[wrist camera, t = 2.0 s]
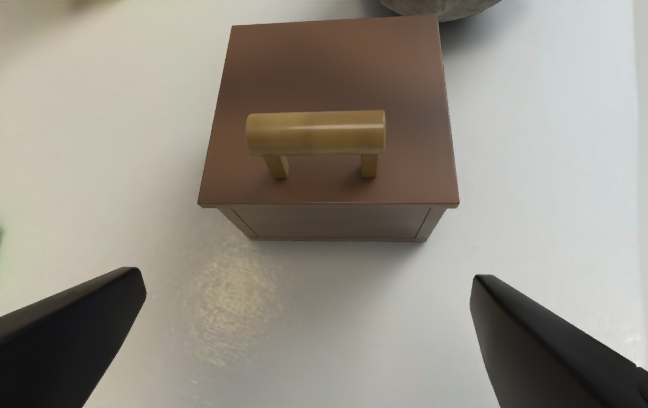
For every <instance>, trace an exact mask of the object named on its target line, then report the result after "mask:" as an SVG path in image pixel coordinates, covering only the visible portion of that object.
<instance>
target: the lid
mask: <svg viewBox="0 0 648 408" xmlns="http://www.w3.org/2000/svg"><path fill="white" fill-rule="evenodd" d="M197 203H198V205H199V206H201V207H202V208H457V207H458V205H459V203H460V202H459V193H458V185H457V176H456V168H455V159H454V151H453V143H452V134H451V126H450V117H449V109H448V101H447V92H446V84H445V75H444V67H443V59H442V50H441V42H440V33H439V25H438V17H437V14H428V15H410V16H393V17H376V18H358V19H341V20H324V21H306V22H289V23H272V24H254V25H237V26H232V28H231V34H230V39H229V44H228V49H227V54H226V59H225V64H224V69H223V74H222V79H221V85H220V90H219V95H218V100H217V105H216V110H215V115H214V120H213V125H212V130H211V136H210V141H209V146H208V151H207V156H206V161H205V166H204V171H203V176H202V182H201V187H200V192H199V197H198V202H197Z"/></svg>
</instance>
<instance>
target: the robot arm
mask: <svg viewBox="0 0 648 408" xmlns="http://www.w3.org/2000/svg"><path fill="white" fill-rule="evenodd" d="M146 295H147V292H146V288H145V285H144V281H143V278H142V274H141V271H140V270H139V269H138V268H137V267H121V268H118V269H116V270H114V271H111V272H109V273H106V274H104V275H101V276H99V277H96V278H94V279H92V280H89V281H87V282H84V283H82V284H79V285H77V286H75V287H72V288H70V289H67V290H65V291H62V292H60V293H57V294H55V295H53V296H50V297H48V298H45V299H43V300H40V301H38V302H36V303H33V304H31V305H28V306H26V307H23V308H21V309H18V310H16V311H14V312H11V313H9V314H6V315H4V316H1V317H0V408H82V407H83V406H84V404H85V403H86V401H87V400H88V398H89V396H90V395H91V393H92V392H93V390H94V389H95V387H96V386H97V384H98V382H99V381H100V379H101V378H102V376H103V375H104V373H105V372H106V370H107V369H108V367H109V365H110V364H111V362H112V361H113V359H114V358H115V356H116V354H117V353H118V351H119V349H120V348H121V346H122V344H123V342H124V340H125V338H126V337H127V335H128V333H129V331H130V329H131V327H132V325H133V323H134V321H135V319H136V317H137V315H138V313H139V312H140V310H141V308H142V306H143V304H144V302H145V300H146ZM470 311H471V315H472V319H473V322H474V326H475V330H476V334H477V338H478V342H479V346H480V349H481V353H482V357H483V361H484V364H485V368H486V370H487V373H488V376H489V379H490V381H491V384H492V386H493V389H494V392H495V394H496V397H497V399H498V402H499V405H500V407H501V408H648V371H646V370H644V369H643V368H641V367H636V364H635V363H633V362H631V361H630V360H628V359H627V358H625V357H623V356H622V355H620V354H619V353H617V352H615V351H614V350H612V349H611V348H609V347H607V346H606V345H604V344H602V343H601V342H599V341H598V340H596V339H594V338H593V337H591V336H590V335H588V334H586V333H585V332H583V331H582V330H580V329H578V328H577V327H575V326H574V325H572V324H570V323H569V322H567V321H566V320H564V319H562V318H561V317H559V316H558V315H556V314H554V313H553V312H551V311H550V310H548V309H546V308H545V307H543V306H542V305H540V304H538V303H537V302H535V301H534V300H532V299H530V298H529V297H527V296H526V295H524V294H522V293H521V292H519V291H518V290H516V289H514V288H513V287H511V286H510V285H508V284H506V283H505V282H503V281H502V280H500V279H498V278H497V277H495V276H493V275H475V277H474V279H473V284H472V290H471V297H470Z"/></svg>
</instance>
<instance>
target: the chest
mask: <svg viewBox="0 0 648 408" xmlns="http://www.w3.org/2000/svg"><path fill="white" fill-rule="evenodd" d="M217 209H219V210H220V211H221V212H222V213H223V214H224V215H225V216H226V217H227V218H228V219H229V220H230V221H231V222H232V223H233V224H234V225H235V226H236V227H237V228H239V229H240V230H241V231H242V232H243V233H244V234H245V235H246V236H247V237H248V238H249V239H250V240H293V241H378V242H426V241H427V239H428V237H429V236H430V234H431V233H432V231H433V229H434V228H435V226H436V225H437V223H438V222H439V220H440V218H441V217H442V215H443V214H444V212H445V211H446V209H447V208H217Z"/></svg>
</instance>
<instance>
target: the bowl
mask: <svg viewBox="0 0 648 408" xmlns="http://www.w3.org/2000/svg"><path fill="white" fill-rule="evenodd" d="M378 1H379V2H380V3H382V4H383V5H384V6H386V7H387V8H389V9H391V10H393V11H395V12H397V13H398V14H400V15H402V16H410V15H428V14H437V17H438V23H439V22H446V21H452V20H458V19H461V18H464V17H468V16H471V15H475V14H477V13H480V12H482V11H484V10H485V9H487V8H489V7H491V6H493V5H495V4H496V3H498V2H500V1H501V0H378Z"/></svg>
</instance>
